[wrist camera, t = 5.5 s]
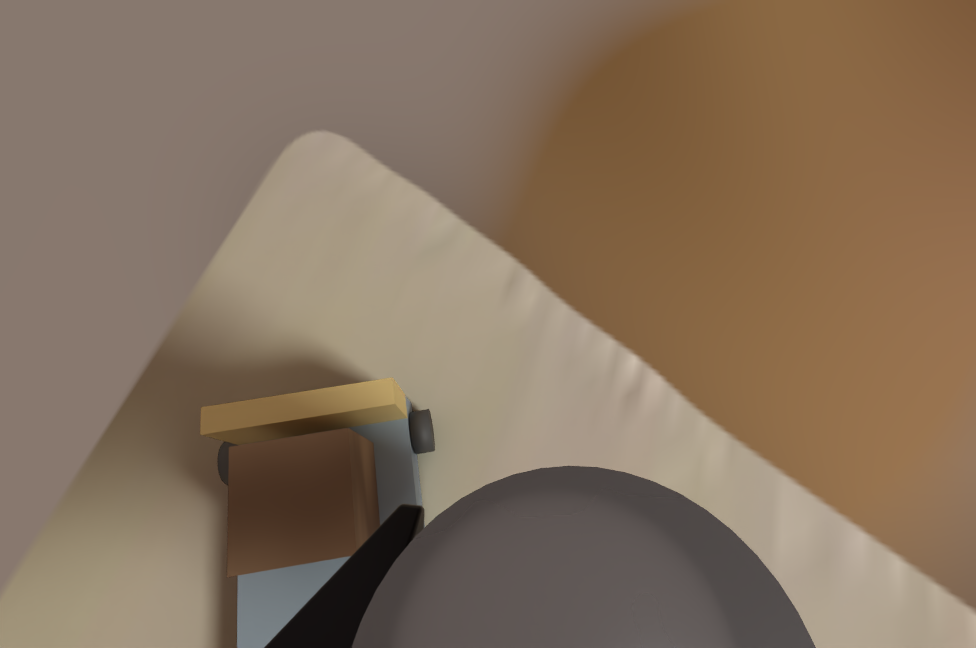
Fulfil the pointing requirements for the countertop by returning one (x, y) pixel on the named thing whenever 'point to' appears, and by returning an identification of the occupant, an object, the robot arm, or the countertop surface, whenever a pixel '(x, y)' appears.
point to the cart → (355, 406)
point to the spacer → (579, 573)
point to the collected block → (300, 500)
